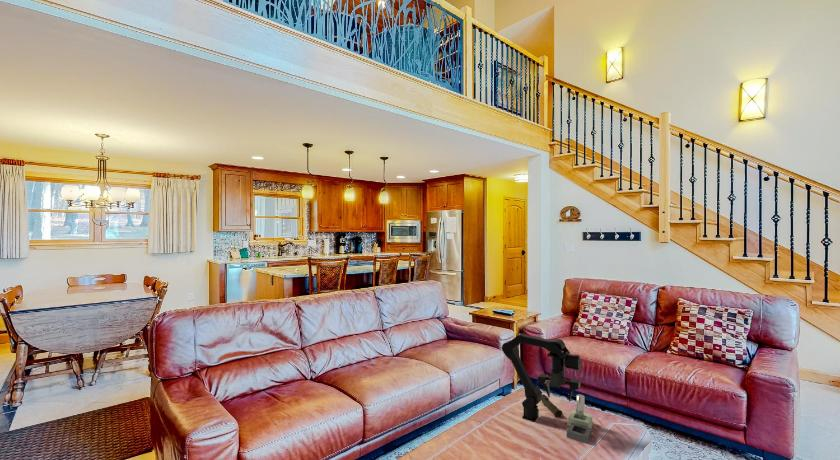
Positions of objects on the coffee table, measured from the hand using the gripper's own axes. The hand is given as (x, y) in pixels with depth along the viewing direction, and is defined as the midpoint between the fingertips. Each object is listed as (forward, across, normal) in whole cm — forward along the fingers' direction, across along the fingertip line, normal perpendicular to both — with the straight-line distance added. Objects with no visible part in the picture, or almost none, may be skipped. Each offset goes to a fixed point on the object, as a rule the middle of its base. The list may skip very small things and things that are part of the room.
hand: (559, 399), depth 184 cm
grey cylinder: (+12, +8, +7) cm, 16 cm away
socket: (+14, +9, -4) cm, 17 cm away
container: (+14, +8, +7) cm, 17 cm away
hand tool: (+13, -9, +16) cm, 23 cm away
